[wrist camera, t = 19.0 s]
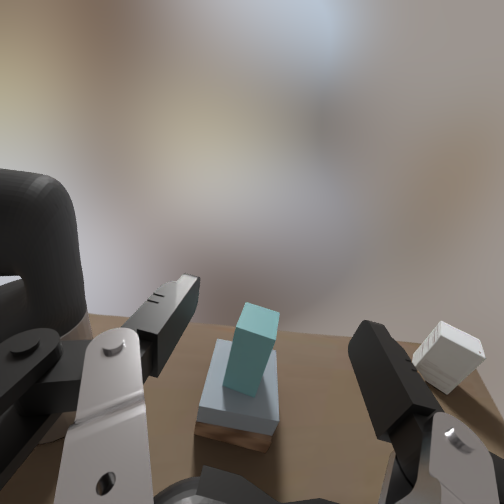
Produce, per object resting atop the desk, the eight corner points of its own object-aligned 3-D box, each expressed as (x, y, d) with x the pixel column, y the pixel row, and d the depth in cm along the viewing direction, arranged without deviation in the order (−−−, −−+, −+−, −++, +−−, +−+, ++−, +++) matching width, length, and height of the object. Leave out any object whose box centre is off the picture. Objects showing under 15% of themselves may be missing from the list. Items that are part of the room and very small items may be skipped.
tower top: (196, 421, 29) (199, 405, 27) (214, 353, 39) (217, 338, 37) (272, 435, 29) (279, 421, 27) (270, 364, 39) (275, 350, 37)
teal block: (222, 385, 30) (236, 326, 25) (232, 356, 34) (246, 302, 29) (254, 397, 29) (275, 340, 24) (260, 366, 34) (279, 312, 29)
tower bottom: (193, 435, 30) (196, 422, 29) (214, 367, 40) (217, 354, 38) (265, 454, 30) (271, 442, 28) (268, 381, 40) (273, 368, 38)
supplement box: (446, 375, 50) (481, 339, 45) (447, 396, 45) (487, 359, 39) (412, 353, 54) (440, 319, 49) (409, 371, 49) (441, 334, 43)
